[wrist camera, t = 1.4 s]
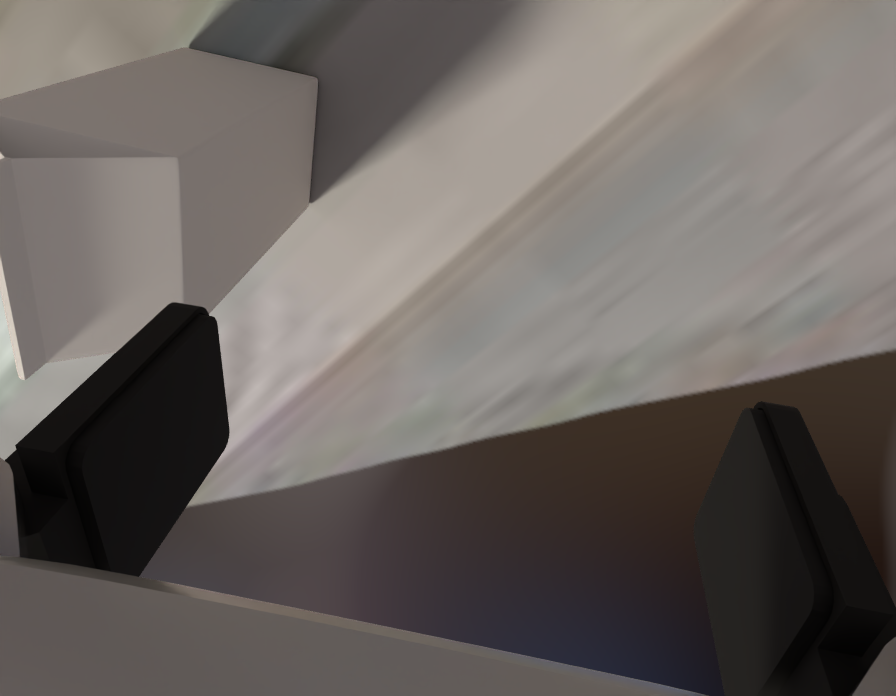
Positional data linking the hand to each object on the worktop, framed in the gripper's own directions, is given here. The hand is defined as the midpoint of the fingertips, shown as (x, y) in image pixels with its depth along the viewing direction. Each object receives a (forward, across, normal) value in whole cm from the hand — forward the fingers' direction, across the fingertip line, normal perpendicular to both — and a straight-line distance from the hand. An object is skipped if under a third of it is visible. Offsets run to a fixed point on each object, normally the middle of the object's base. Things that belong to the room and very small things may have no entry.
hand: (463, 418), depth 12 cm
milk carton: (+25, +15, +3) cm, 29 cm away
